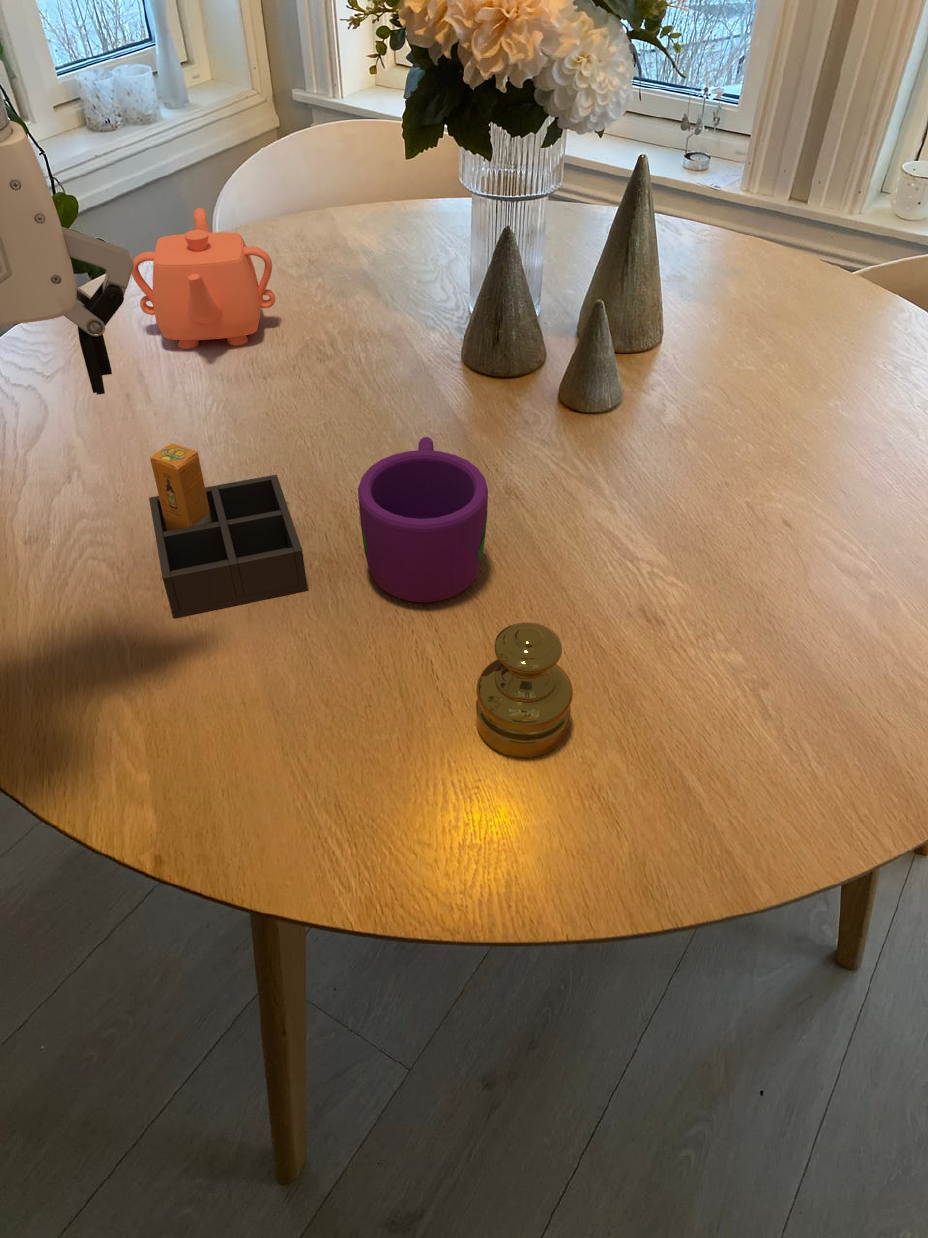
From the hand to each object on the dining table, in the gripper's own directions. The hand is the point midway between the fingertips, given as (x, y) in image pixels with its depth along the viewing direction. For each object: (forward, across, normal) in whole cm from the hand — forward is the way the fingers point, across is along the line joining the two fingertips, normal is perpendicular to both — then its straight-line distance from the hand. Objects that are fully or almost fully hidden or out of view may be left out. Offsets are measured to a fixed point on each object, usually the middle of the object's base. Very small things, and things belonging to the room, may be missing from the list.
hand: (21, 395), depth 62 cm
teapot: (+26, +18, +58) cm, 66 cm away
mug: (+26, +30, +7) cm, 40 cm away
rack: (+26, +12, +11) cm, 30 cm away
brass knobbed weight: (+26, +30, -16) cm, 43 cm away
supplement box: (+25, +9, +14) cm, 30 cm away
